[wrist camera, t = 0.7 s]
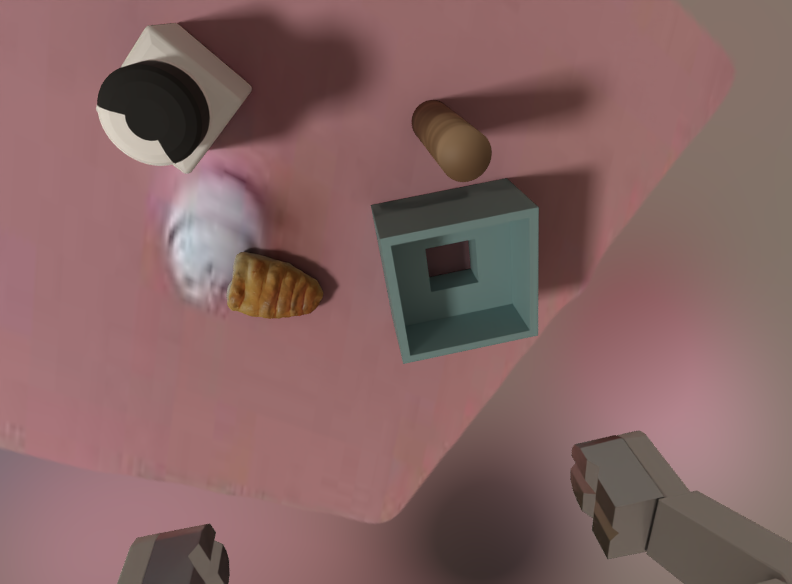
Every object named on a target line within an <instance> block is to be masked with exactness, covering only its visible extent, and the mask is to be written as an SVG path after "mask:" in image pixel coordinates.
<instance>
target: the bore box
mask: <svg viewBox="0 0 792 584" xmlns="http://www.w3.org/2000/svg"><path fill="white" fill-rule="evenodd" d="M371 209H372V214H373V219H374V224H375V229H376V235H377V240H378V245H379V250H380V255H381V261H382V266H383V271H384V276H385V281H386V287H387V292H388V297H389V302H390V307H391V313H392V318H393V322H394V326H395V331H396V335H397V339H398V343H399V347H400V352H401V356H402V360H403V364H405V363H410V362H414V361H419V360H424V359H429V358H433V357H438V356H443V355H447V354H452V353H457V352H462V351H466V350H471V349H476V348H481V347H485V346H490V345H495V344H499V343H504V342H509V341H514V340H518V339H523V338H528V337H533V336H537V335H538V215H539V207H538V206H537V205H536V204H534V203H533V202H532V201H531V200H530V199H529V198H528V197H527V196H526V195H525V194H523V193H522V192H521V191H520V190H519V189H518V188H517V187H516V186H515V185H514V184H512V183H511V182H510V181H509V180H508V179H507V178H505V179H500V180H495V181H490V182H485V183H480V184H475V185H470V186H465V187H460V188H455V189H450V190H445V191H440V192H435V193H430V194H425V195H420V196H414V197H409V198H404V199H399V200H394V201H389V202H384V203H379V204H374V205H371ZM467 240H468V241H469V253H470V266H471V269H467V270H462V271H458V272H453V273H448V274H443V275H438V276H433V277H429V273H428V265H427V258H426V251H425V249H427V248H432V247H437V246H442V245H447V244H452V243H457V242H462V241H467Z"/></svg>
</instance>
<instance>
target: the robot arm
mask: <svg viewBox="0 0 792 584" xmlns="http://www.w3.org/2000/svg"><path fill="white" fill-rule="evenodd" d="M572 458H573V459H574V461H575V464H574V465H573V467H572V468H571V471H570V480H571V484H572V489H573V492H574V495H575V497H576V500H577V502H578V504H579V506H580V508H581V510H582V511H583V512H584V513H586V514H587V515H589V516H590V517H592V518H593V525H592V531H593V533H594V535H595V536H596V539H597V540H598V542H599V544H600V546H601V548H602V550H603V551H604V554H605V555H606V557H607V559H611V558H617V557H621V556H627V555H632V554H637V553H642V552H647V555H648V556H650V557H651V558H652V559H653V560H655V561H656V562H657V563H659V564H660V565H661V566H662V567H664V568H665V569H666V570H667V571H669V572H670V573H671V574H672V575H674V576H675V577H676V578H677V579H679V580H680V581H681V582H683V583H684V584H792V543H791V542H789V541H788V540H786V539H784V538H782V537H780V536H779V535H777V534H775V533H773V532H771V531H770V530H768V529H766V528H764V527H762V526H760V525H759V524H756V523H755V522H753V521H751V520H749V519H748V518H746V517H744V516H742V515H740V514H738V513H737V512H735V511H733V510H731V509H730V508H728V507H726V506H724V505H722V504H720V503H719V502H716V501H715V500H713V499H711V498H710V497H708V496H706V495H704V494H702V493H700V492H699V491H693V492H690V491H689V489H688V488H687V487H686V486H685V484H684V483H683V482H682V481H681V479H680V478H679V477H678V475H677V474H676V473H675V472H674V471H673V469H672V468H671V466H670V465H669V464H668V463H667V461H666V460H665V459H664V458H663V457H662V455H661V454H660V452H659V451H658V450H657V448H656V447H655V446H654V445H653V443H652V442H651V441H650V440H649V438H648V437H647V436H646V434H644V433H643V432H641V431H634V432H630V433H625V434H622V435H617V436H616V435H613V436H609V437H605V438H600V439H596V440H592V441H587V442H583V443H579V444H575V445H574V446H573V448H572ZM215 534H216V532H215V530H214V529H213V528H212V526H211V524H205V525H200V526H194V527H189V528H184V529H179V530H174V531H169V532H164V533H158V534H153V535H148V536H144V537H139V538H136V540H135V541H134V543H133V544H132V545H131V547H130V549H129V552H128V555H127V557H126V560H125V563H124V566H123V569H122V572H121V574H120V577H119V580H118V583H117V584H228V583H229V576H230V574H229V558H228V555H227V551H226V549H225V547H224V545H223V544H221V543H219V542H217V541H215V540H214V539H215Z"/></svg>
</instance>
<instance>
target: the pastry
mask: <svg viewBox="0 0 792 584" xmlns="http://www.w3.org/2000/svg"><path fill="white" fill-rule="evenodd" d="M322 297H323V291H322V289H321V287H320V285H319V283H318V281H317V280H316V279H314V278H312V277H310V276H309V275H307V274H305V273H303V272H302V271H301V270H299V269H297V268H295V267H294V266H292V265H291V264H290V263H288V262H282V261H279V260H275V259H272V258H269V257H266V256H262V255H258V254H253V253H248V252H240V253H239V254H237V256H236V258H235V261H234V265H233V280H232V281H231V283H230V284H229V286H228V290H227V305H228V307H229V308H230V309H231V310H232V311H239V312H242V313H244V314H247V315H249V316H252V317H263V318H269V319H270V318H282V317H291V316H301V315H304V314H309V313H311V312H312V311H314V310H315V309H316V308H317V306H318V305H319V303H320V301H321V299H322Z"/></svg>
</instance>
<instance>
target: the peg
mask: <svg viewBox="0 0 792 584" xmlns="http://www.w3.org/2000/svg"><path fill="white" fill-rule="evenodd" d="M412 128H413V131H414V133H415V134H416V136H417V137H418V138H419V139H420V141H421V142H422V143H423V145H424V146H425V147H426V149H427V150H428V151H429V153H430V154H431V155H432V156H433V158H434V159H435V160H436V162H437V163H438V164H439V166H440V167H441V168H442V170H443V171H444V172H445V173H446V175H447V176H448V177H450V178H451V179H453V180H455V181H458V182H468V181H472V180H474V179H476V178H478V177H479V176H481V175H482V174H483V173H484V172H485V170H486V169H487V167H488V165H489V163H490V160H491V153H492V151H491V146H490V143H489V141H488V139H487V138H486V137H485V136H484V135H483V134H482V133H481V132H479V131H478V130H477V129H475V128H474V127H473V126H472V125H470V124H469V123H468V122H466V121H465V120H464V119H463V118H461V117H460V116H459V115H457V114H456V113H455V112H453V111H452V110H451V109H450V108H448V107H447V106H446V105H444V104H443V103H442V102H440V101H437V100H429V101H425V102H423V103H422V104H420V105H419V106H418V107H417V108H416V110H415V111H414V113H413V116H412Z"/></svg>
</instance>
